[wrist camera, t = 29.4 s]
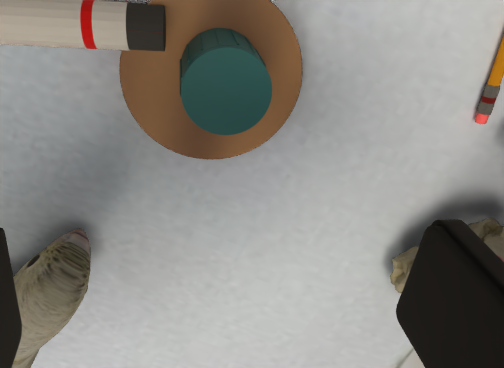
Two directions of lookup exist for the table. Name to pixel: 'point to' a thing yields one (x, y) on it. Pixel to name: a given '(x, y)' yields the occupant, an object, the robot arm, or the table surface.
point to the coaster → (168, 75)
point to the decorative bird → (50, 291)
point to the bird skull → (488, 231)
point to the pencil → (491, 87)
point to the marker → (83, 24)
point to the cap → (224, 82)
